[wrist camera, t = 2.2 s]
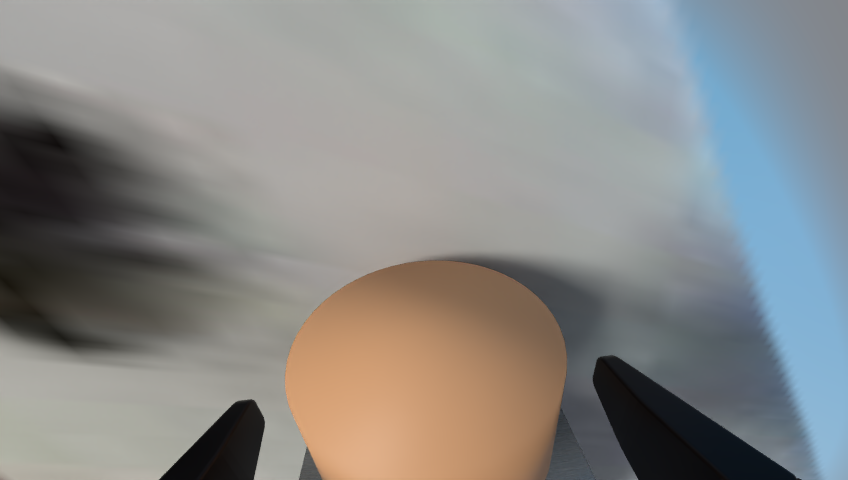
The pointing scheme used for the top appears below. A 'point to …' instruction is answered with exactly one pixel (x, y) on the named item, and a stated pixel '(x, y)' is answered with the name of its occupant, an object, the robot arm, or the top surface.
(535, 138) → the top surface
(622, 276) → the top surface
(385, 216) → the top surface
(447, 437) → the white and tan bar
